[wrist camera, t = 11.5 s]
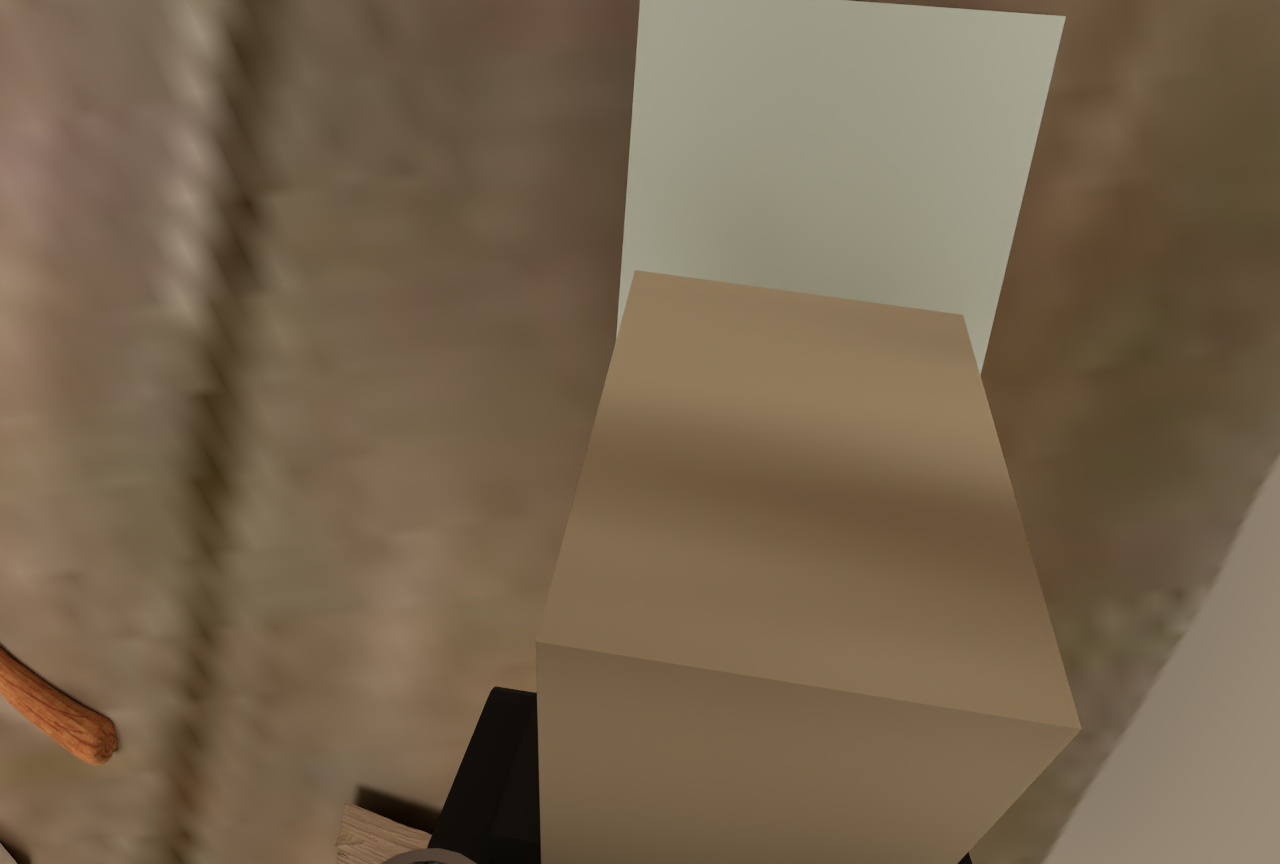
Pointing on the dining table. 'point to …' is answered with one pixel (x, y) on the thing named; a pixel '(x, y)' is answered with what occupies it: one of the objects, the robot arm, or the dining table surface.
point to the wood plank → (374, 837)
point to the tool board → (835, 148)
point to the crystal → (5, 856)
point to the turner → (791, 595)
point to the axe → (57, 713)
